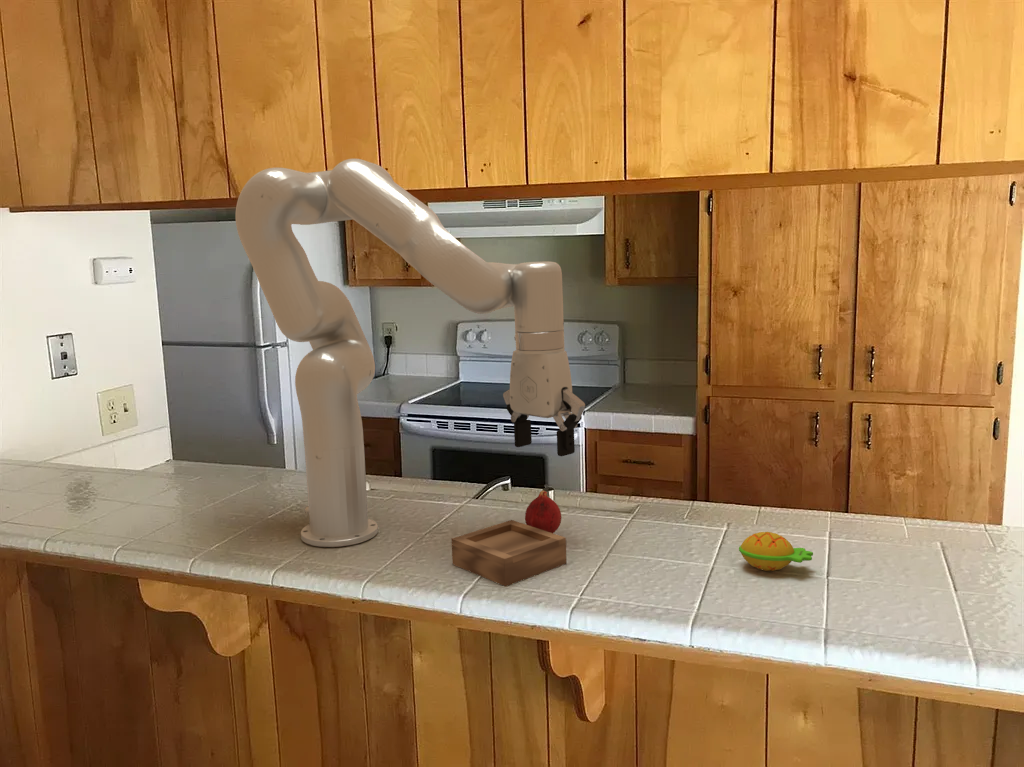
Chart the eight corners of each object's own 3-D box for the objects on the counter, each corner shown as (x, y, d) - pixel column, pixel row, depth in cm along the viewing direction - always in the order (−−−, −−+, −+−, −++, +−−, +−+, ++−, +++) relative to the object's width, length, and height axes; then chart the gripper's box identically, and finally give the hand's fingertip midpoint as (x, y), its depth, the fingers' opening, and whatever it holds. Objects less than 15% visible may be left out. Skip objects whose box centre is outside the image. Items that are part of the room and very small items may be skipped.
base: (452, 564, 126) (451, 538, 125) (512, 544, 134) (511, 519, 133) (505, 586, 117) (504, 559, 116) (566, 563, 125) (565, 537, 124)
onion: (558, 546, 132) (557, 497, 131) (522, 544, 133) (521, 496, 132) (564, 534, 138) (563, 486, 136) (529, 532, 139) (528, 485, 138)
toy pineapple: (742, 557, 125) (743, 522, 125) (814, 565, 121) (815, 530, 121) (735, 574, 119) (735, 537, 118) (810, 583, 115) (811, 546, 114)
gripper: (485, 341, 134) (490, 446, 137) (562, 347, 122) (566, 463, 124) (520, 337, 139) (524, 438, 142) (597, 342, 127) (601, 453, 129)
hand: (544, 449), depth 133 cm, fingers open, 9 cm apart
